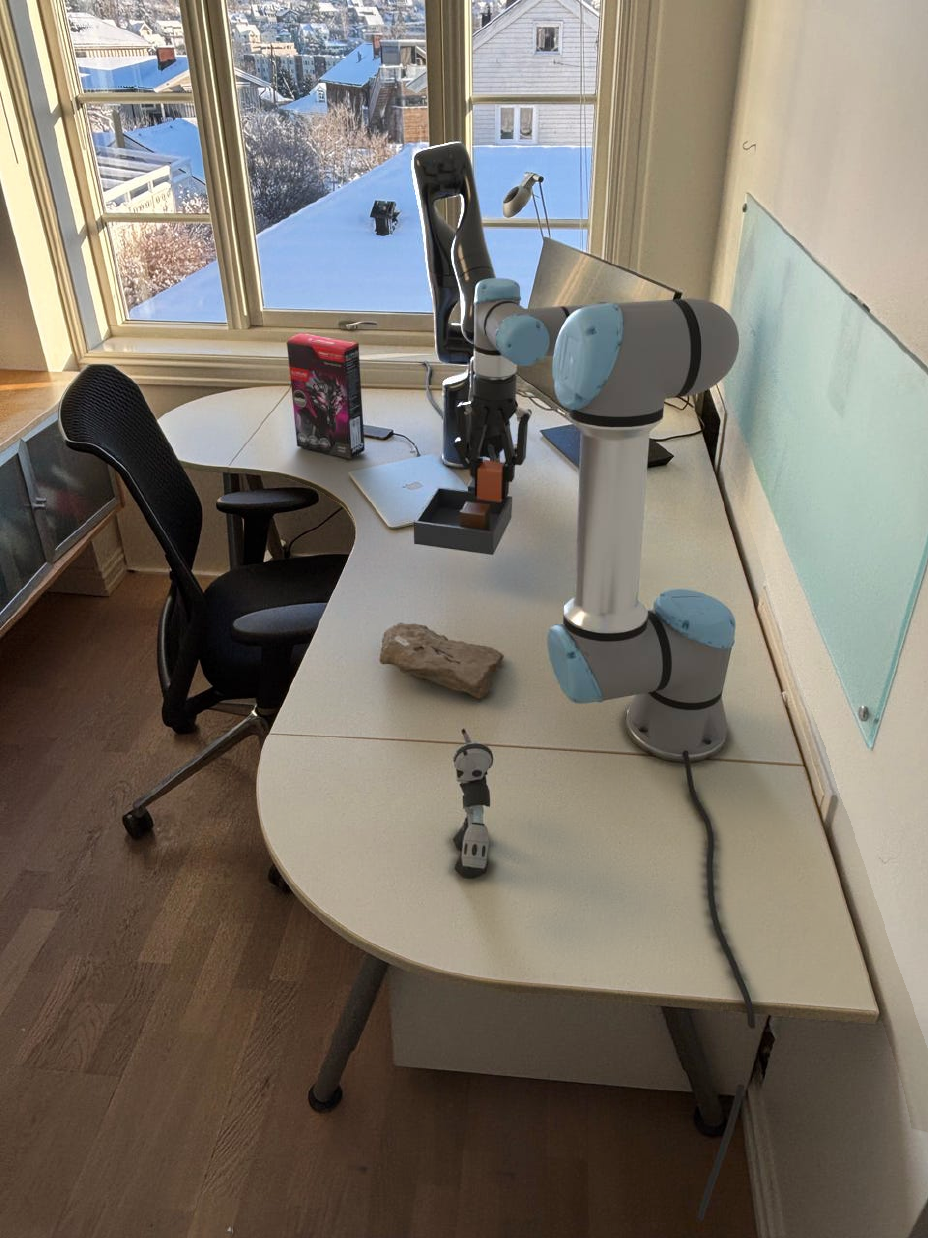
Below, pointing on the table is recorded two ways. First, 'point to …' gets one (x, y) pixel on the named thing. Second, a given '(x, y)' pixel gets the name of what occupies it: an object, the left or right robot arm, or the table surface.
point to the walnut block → (475, 516)
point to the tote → (443, 522)
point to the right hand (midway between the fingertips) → (491, 494)
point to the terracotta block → (490, 481)
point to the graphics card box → (326, 394)
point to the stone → (440, 658)
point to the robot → (473, 807)
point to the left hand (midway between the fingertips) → (485, 487)
